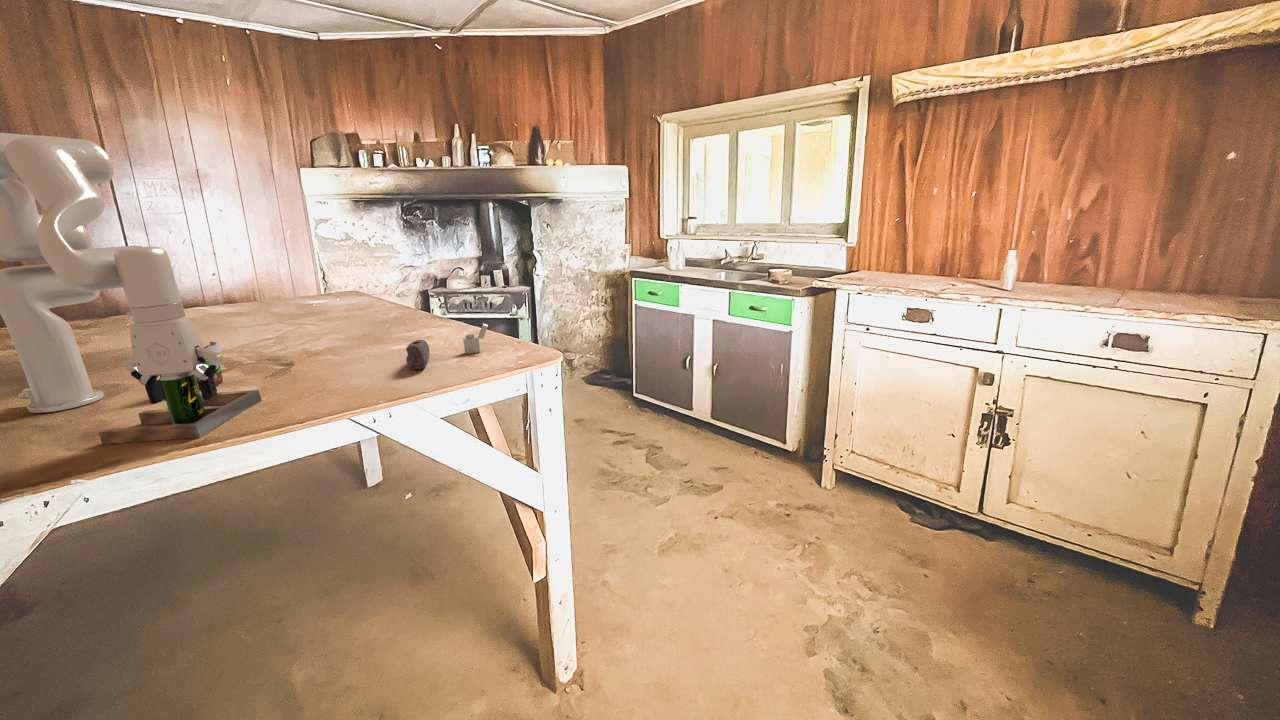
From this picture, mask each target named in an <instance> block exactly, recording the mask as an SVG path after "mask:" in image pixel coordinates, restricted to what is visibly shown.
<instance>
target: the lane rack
mask: <svg viewBox="0 0 1280 720" xmlns="http://www.w3.org/2000/svg"><path fill="white" fill-rule="evenodd" d="M200 395H201V399H202V402H203V406H204V409H205V413H206V416H205V417H204V418H202V419H200V420H198V421H196V422H195V423H190V424H175V425H173V424H171V423H170V422H172V420H171V417H170V414H169V410H168V408H165V409H151V410H149V409H148V410H142V411H141V412H138V413H137V414H138V418H139V421H140V424H141V425H142V424H146V425H144V426H131V427H118V428H117V427H116V428H104V429H102V430H101V431H98V435H99V439H100V441H101V445H102V444H103V445H111V444H110V443H118V444H124V443H123V442H132V443H141V442H140V441H147V442H155V441H154V440H162V441H171V440H170V439H176V440H186V439H185V438H191V439H200V438H202V437H204V436H206V435H207V434H208V433H210V432H212V431H213V429H214V430H215V429H217V428H218V427H221V426H222V425H223V424H225V423H227V422H228V421H230V420H231V418H232V419H233V418H235V417H237V416H239V415H240V414H242V413H243V412H245V411H247V410H248V409H250V408H251V407H253V406H254V404H255V405H256V404H258V403H260V402H261V401H262V396H261V393H260V389H252V390H236V391H234V390H233V391H222V392H219V391H217V396H215V397H213V398H211V399H209V400H204V399H203V397H202V394H201V393H200ZM260 400H261V401H260ZM259 401H260V402H259ZM257 402H258V403H257ZM224 404H225V405H224ZM210 405H214V406H210ZM252 405H253V406H252ZM249 407H250V408H249ZM247 408H248V409H247ZM244 410H245V411H244ZM242 411H243V412H242ZM239 413H240V414H239ZM236 415H237V416H236ZM234 416H235V417H234ZM229 419H230V420H229ZM226 421H227V422H226ZM157 423H161V424H162V425H158V424H157ZM221 424H222V425H221ZM147 425H150V426H147Z"/></svg>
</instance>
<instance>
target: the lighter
mask: <svg viewBox="0 0 1280 720" xmlns="http://www.w3.org/2000/svg"><path fill="white" fill-rule="evenodd" d="M488 326H489V325H488V324H486V323H484V322H483V323H482V326H481V328H480V330H479V333H478V336H475V334H474V333H469V334H468V333H467V334H466V335H465V337H463V338H462V341H463V346H464V347H463V348H464V349H463V350H464V354H465V355H467V354H478V352H479V353H481V347H480V341H479V339H481V340H484V338H485V335H486V332H487V330H488Z"/></svg>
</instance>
